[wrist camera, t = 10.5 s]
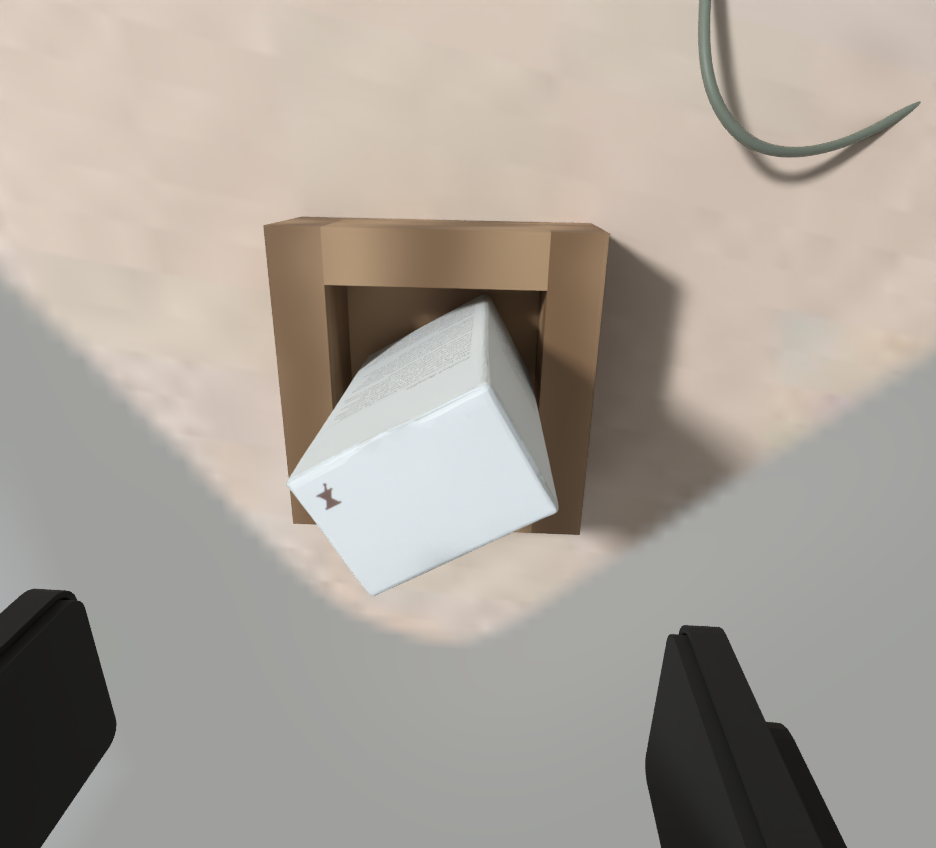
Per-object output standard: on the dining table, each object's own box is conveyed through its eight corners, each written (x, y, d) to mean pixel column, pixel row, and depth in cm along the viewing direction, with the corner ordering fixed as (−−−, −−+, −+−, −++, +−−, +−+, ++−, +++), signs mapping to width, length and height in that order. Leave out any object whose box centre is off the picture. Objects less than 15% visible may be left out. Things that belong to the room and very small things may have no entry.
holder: (591, 223, 26) (609, 233, 21) (568, 484, 30) (579, 534, 26) (301, 216, 26) (263, 225, 22) (321, 475, 30) (293, 523, 26)
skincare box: (416, 435, 28) (365, 604, 17) (366, 354, 27) (275, 482, 16) (537, 374, 27) (564, 516, 16) (490, 287, 26) (485, 375, 15)
